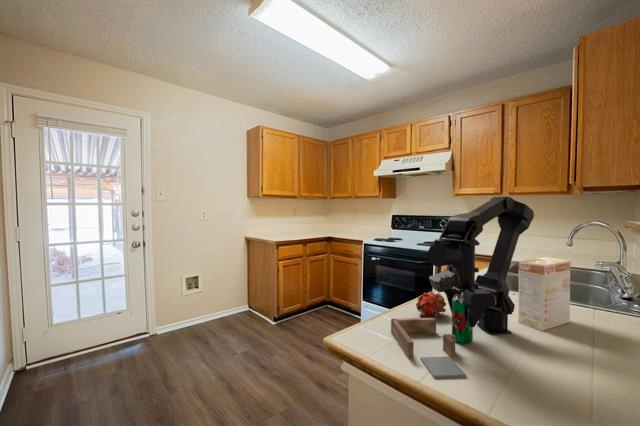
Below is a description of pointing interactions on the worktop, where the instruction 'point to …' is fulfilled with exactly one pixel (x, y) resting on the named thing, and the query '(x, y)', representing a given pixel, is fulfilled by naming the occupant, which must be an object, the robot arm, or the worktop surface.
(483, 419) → the worktop surface
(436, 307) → the dragon fruit
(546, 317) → the coffeecake box
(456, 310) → the soda can
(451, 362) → the slate coaster
